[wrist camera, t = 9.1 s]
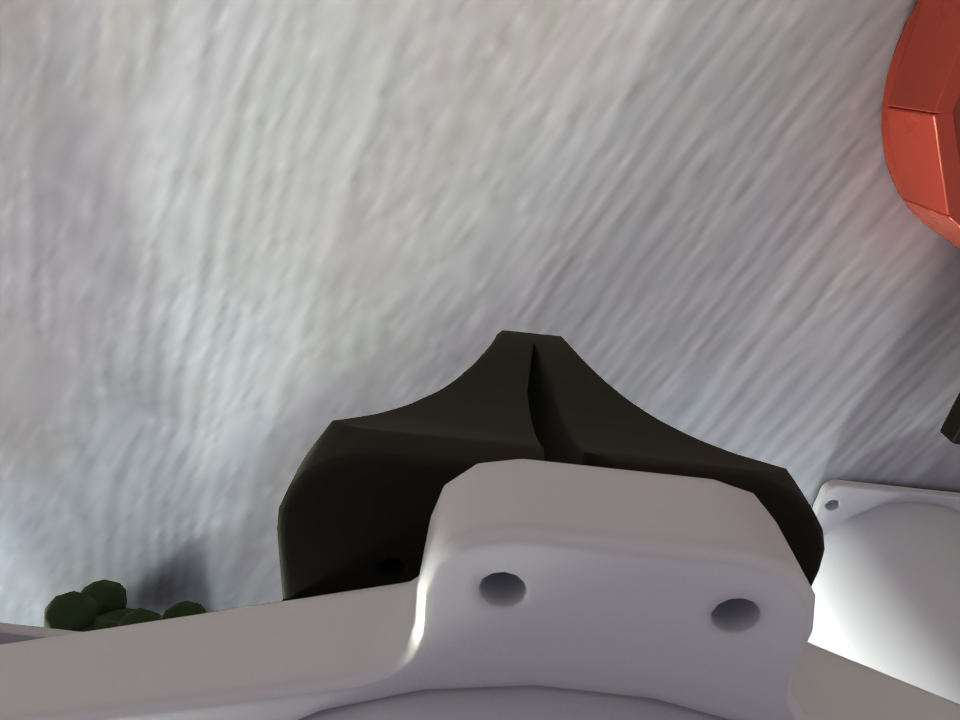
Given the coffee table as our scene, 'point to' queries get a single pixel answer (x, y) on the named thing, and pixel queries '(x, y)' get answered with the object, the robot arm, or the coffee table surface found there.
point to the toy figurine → (105, 609)
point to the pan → (927, 127)
